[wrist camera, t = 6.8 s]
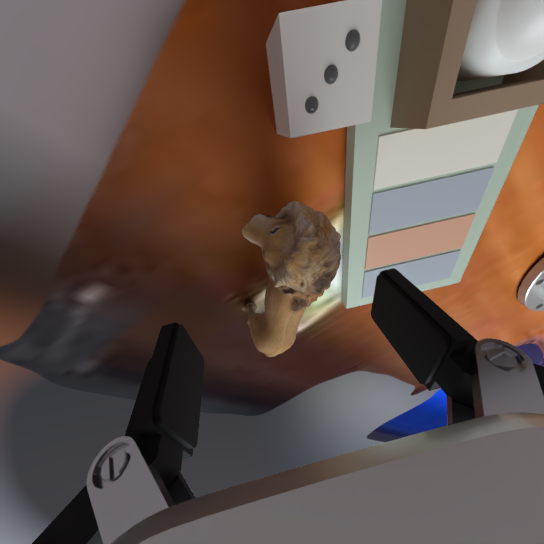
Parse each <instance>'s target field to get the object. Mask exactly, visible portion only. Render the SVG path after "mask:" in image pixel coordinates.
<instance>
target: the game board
mask: <svg viewBox="0 0 544 544" xmlns="http://www.w3.org/2000/svg"><path fill="white" fill-rule="evenodd" d="M476 2H477V0H382V9H381V20H380V31H379V41H378V52H377V63H376V74H375V85H374V96H373V107H372V118H371V122H367V123H362V124H357V125H353V126H348V127H347V141H346V174H345V207H344V241H343V274H342V302H343V304H344V305H345V307H346V309H348V308H352V307H356V306H361V305H365V304H369V303H373V297H374V291H375V284H376V278H377V276H378V275H379V274H380V272H381V271H384V270H388V269H392V268H395V269H396V270H398V271H399V272H400V273H401V274H402V275H403V276H404V277H406V278H407V279H408V280H409V281H410V282H411V283H412V284H414V285H415V286H416V287H417V288H418V289H419V290H420V291H425V290H429V289H434V288H438V287H442V286H447V285H451V284H455V283H459V282H460V280H461V278H462V275H463V273H464V271H465V269H466V266H467V264H468V262H469V260H470V257H471V255H472V253H473V251H474V249H475V246H476V244H477V242H478V240H479V237H480V235H481V233H482V231H483V228H484V226H485V224H486V222H487V220H488V217H489V215H490V213H491V211H492V208H493V206H494V204H495V202H496V199H497V197H498V195H499V193H500V191H501V188H502V186H503V184H504V182H505V179H506V177H507V175H508V173H509V170H510V168H511V166H512V164H513V161H514V159H515V157H516V155H517V153H518V150H519V148H520V146H521V144H522V141H523V139H524V137H525V135H526V132H527V130H528V128H529V126H530V124H531V121H532V119H533V117H534V115H535V112H536V110H537V108H538V106H539V105H540V104H544V60H542V61H541V62H539V63H538V64H536V65H534V66H533V67H531V68H529V69H527V70H524V71H521V72H518V73H512V74H506V75H500V76H494V77H488V78H482V79H476V80H470V81H457V77H458V73H459V69H460V65H461V61H462V57H463V53H464V50H465V46H466V42H467V38H468V34H469V30H470V26H471V22H472V18H473V14H474V10H475V6H476Z"/></svg>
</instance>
